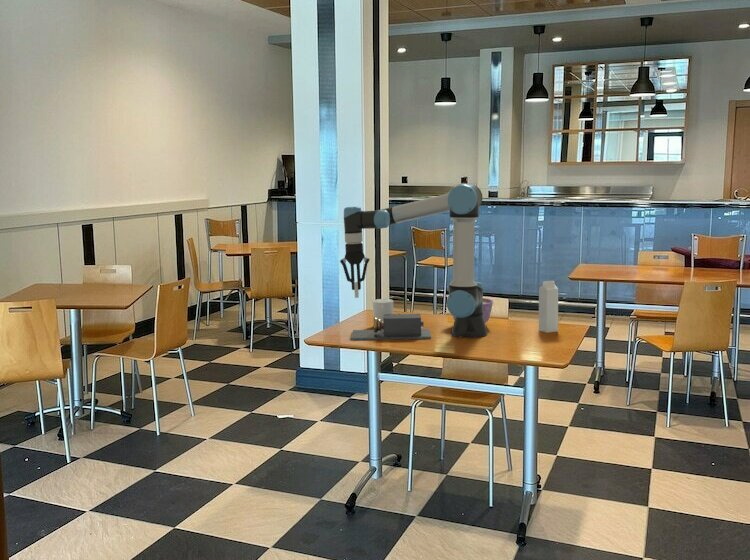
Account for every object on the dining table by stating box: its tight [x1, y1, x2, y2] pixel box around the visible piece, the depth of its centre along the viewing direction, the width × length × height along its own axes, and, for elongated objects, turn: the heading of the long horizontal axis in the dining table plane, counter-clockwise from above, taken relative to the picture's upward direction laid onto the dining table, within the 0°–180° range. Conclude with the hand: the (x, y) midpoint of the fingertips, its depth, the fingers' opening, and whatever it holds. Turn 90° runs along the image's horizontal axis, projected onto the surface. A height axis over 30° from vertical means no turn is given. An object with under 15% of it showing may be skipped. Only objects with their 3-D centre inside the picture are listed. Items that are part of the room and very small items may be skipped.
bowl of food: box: [451, 297, 494, 324], centre depth 333 cm, size 20×20×12 cm
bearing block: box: [350, 313, 432, 341], centre depth 318 cm, size 34×16×8 cm, turn 88°
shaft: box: [373, 316, 425, 333], centre depth 317 cm, size 22×7×7 cm, turn 88°
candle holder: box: [371, 298, 394, 321], centre depth 338 cm, size 10×10×12 cm
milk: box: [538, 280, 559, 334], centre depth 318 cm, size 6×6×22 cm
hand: (356, 297), depth 316 cm, fingers closed
